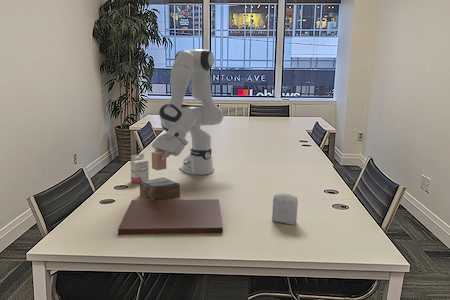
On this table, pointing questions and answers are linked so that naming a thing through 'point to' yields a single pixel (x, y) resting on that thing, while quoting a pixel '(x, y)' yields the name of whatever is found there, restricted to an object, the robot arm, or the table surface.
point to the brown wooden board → (172, 217)
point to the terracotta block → (158, 161)
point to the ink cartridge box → (139, 169)
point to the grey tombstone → (285, 208)
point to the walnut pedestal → (159, 189)
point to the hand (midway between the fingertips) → (157, 158)
